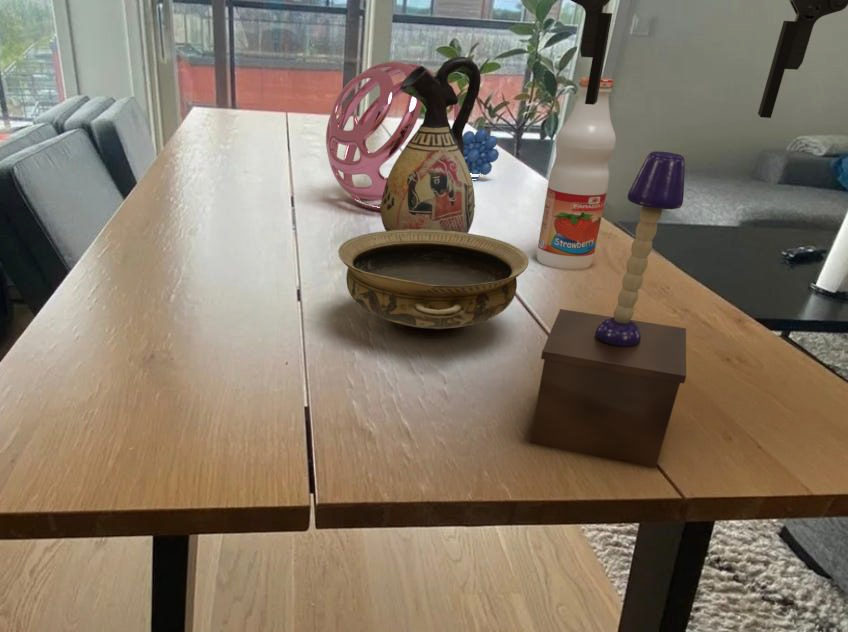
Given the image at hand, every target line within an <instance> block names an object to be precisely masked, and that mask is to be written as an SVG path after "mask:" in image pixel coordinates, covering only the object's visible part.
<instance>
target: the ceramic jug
mask: <svg viewBox="0 0 848 632" xmlns="http://www.w3.org/2000/svg"><path fill="white" fill-rule="evenodd" d="M424 67H425V66H423V65H420V66H419V67H418V68H416V69H415V70H413V71H412V72H411V73H410V74H409V75H408V76H407V78H406V77H405V78H404V80H402V81H403V82H402V81H401V82H402V84H401V87H400V90H401V91H402V92H404V93H403V94H406V95H408V96H409V95H411V96H412V97H414V98H416V99H417V100H419V101H421V102H422V105H423V107H425V111H424V112H425V113H424V117H423V121H422V123H421V124H420V125H419V128H417V130H416V131H415V133H414V134H413V135H412V137H411V138H410V140H409V141H408V142H407V143H406V145H405V147H404V148H403V150H401V152H400V153H399V155H398V157H397V158H396V160H395V162H394V163H393V166H392V167H391V169H390V171H389V174H388V177H387V178H388V179H387V182H386V185H385V188H384V192H383V196H382V200H380V204H381V207H380V211H379V212H380V218H381V223H382V225H383V228H384V231H386V232H387V231H392V230H406V229H429V230H443V231H456V232H463V233H470V232H469V231H470V230H471V227H472V225H473V222H474V218H475V217H474V216H475V208H476V200H475V198H476V197H475V189H474V188H475V187H474V181H472V178H471V175H470V172H469V170H468V167H467V164H466V162H465V159H464V152H463V135H464V130H465V127H466V125H467V123H468V122H469V119H470V116H471V113H472V110H473V108H474V106H475V103H476V100H477V98H478V96H479V94H480V88H481V78H482V77H481V72H480V69H479V66H478V65H477V63H475V62H474V60H472V59H471V58H469V57H467V56H456V57H452V58H450V59H448V60H445V61H444V62H443V63H442V65H441V66H440V67H439V69H438V71H437V72H436V74H435V75H436V76H435V77H433V76H432V75H431V74H430V73H429V72H428V71H427V70H426V69H425V68H426V67H425V68H424ZM454 73H459V74H463V75H465V76H466V77H467V78H468V82H469V83H468V87H467V90H466V94H465V96H464V99H463V101H462V104H461V106H460V111H459V113H458V115H457V118H456V119H455V121H454V120H453V123H452V125H450V122H449V118H448V114H447V108H448V107H450V106H453V105H455V104H457V103H458V102H459V98H458V96H457V94H456V92H455V90H454V87H453V86H452V84H450V83H449V81H448V77H449V76H450V75H451V74H454Z"/></svg>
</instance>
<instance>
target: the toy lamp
mask: <svg viewBox="0 0 848 632" xmlns="http://www.w3.org/2000/svg"><path fill="white" fill-rule="evenodd" d="M685 167H686V161H685V157H684V156H683V155H682V154H680V153H674V152H669V151H659V150H658V151H655V150H654V151H651V152H649V154H648V155H647V156H646V158H645V160H644V162H643V163H642V166H641V167H640V169H639V171H638V173H637V174H636V177H635V179H634V181H633V183H632V185H631V187H630V189H629V191H628V193H627V200H628V201H629V202H631V203H632V204H635V205H638V206H641V209H640V211H639V219H640V221H639V222H638V223H637V225H636V228H635V238H634V239H633V241H632V243H631V247H630V253H631V255H629V257H628V259H627V262H626V272H625V273H624V275H623V277H622V280H621V285H622V288H621V289H620V291H619V292H618V296H617V305H616V306H615V308H614V312H613V317H614V318H609V319H607V320H605V321H603V322H602V323H601V324H600V325H599V326H598V328H597V330H596V333H595V336H596V337H597V338H598V339H599V340H601V341H603V342H606V343H608V344H612V345H617V346H635V345H637V344H639V343H640V340H641V334H640V330H639V328H638V326H637V325H636V324H635V323H634V322H632V321H631V320H633V317H634V313H635V312H634V311H635V309H634V306H635V305H636V304H637V302H638V299H639V290H640V289H641V287H642V285H643V281H644V273H645V272H646V270H647V269H648V263H649V259H648V257H649V255H650V254H651V253H652V249H653V239H654V238H655V237H656V235H657V231H658V222H659V220H660V219H661V217H662V213H663V210H675V209H680V208H681V207H682V205H683V203H684V198H685V197H684V195H685V169H686V168H685Z"/></svg>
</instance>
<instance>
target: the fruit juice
mask: <svg viewBox="0 0 848 632" xmlns="http://www.w3.org/2000/svg"><path fill="white" fill-rule="evenodd" d="M588 82H589V76H583V77H581V78H580V80H579V88H578V90H579V91H580V92H579V96H578V97H577V98H578V99H577V100H576V102H575V104H574V107H573V109H572V111H571V113H570V115H569V116H568V118H567V120H566V121H565V122H564V124H563V125H562V126H561V127H560V129H559V130H558V132H557V136H556V138H555V139H556V140H555V153H556V157H555V162H554V164H553V165H552V167H551V170H550V173H549V178H548V182H547V189H546V195H545V201H544V207H543V212H542V219H541V225H540V231H539V239H538V243H537V250H536V261H538V262H539V263H540V264H541V265H544V266H546V267H549V268H555V269H559V270H570V271H571V270H575V271H576V270H584V269H588V268H589V267H591V265H592V263H593V260H594V256H595V251H596V248H597V247H596V246H597V241H598V236H599V232H600V226H601V221H602V216H603V212H604V211H603V210H604V207H605V202H606V197H607V193H608V188H609V180H610V171H609V170H610V169H609V163H610V160H611V158H612V156H613V153H614V151H615V149H616V143H617V136H616V133H615V129H614V127H613V124H612V119H611V118H612V117H611V111H610V99H609V97H610V93H611V92H612V89H613V87H614V79H611V78H605V77H601V81H600V87H599V93H598V98H597V102H596V103H595V104H594V105H591V104H585V100H586V94H587V88H588Z"/></svg>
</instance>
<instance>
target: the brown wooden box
mask: <svg viewBox="0 0 848 632" xmlns="http://www.w3.org/2000/svg"><path fill="white" fill-rule="evenodd" d="M609 318H614V316H608V315H603V314H602V315H601V314H596V313H589V312H582V311H576V310H571V309H570V310H569V309H563V308H560V309H559V311H558V313H557V316H556V318H555V321H554V323H553V325H552V327H551V330H550V332H549V335H548V337H547V339H546V341H545V344H544V346H543V348H542V351H541V357H540V359H541V360H543V366H542V371H541V376H540V382H539V388H538V394H537V399H536V403H535V409H534V415H533V421H532V425H531V426H532V427H531V432H530V437H529V444H531V445H536V446H537V445H538V446H542V447H547V448H552V449H557V450H561V451H567V452H571V453H576V454H583V455H588V456H592V457H597V458H600V459H601V458H602V459H607V460H612V461H617V462H621V463H627V464H631V465H636V466H641V467H647V468H650V469H656V468H657V466H658V465H657V464H658V462H659V458H660V455H661V451H662V447H663V444H664V441H665V437H666V435H667V431H668V427H669V423H670V419H671V416H672V413H673V409H674V406H675V402H676V398H677V395H678V392H679V388H680V386H681V385H680V384H685V382H686V378H687V328H686V327H680V326H679V327H678V326H673V325H666V324H659V323H653V322H647V321H640V320H634V319H631V321H632V322H634V323H635V324H636V325H637V326H638V328H639V330H640V334H641V340H640V343H639V344H637V345H635V346H617V345H612V344H608V343H606V342H603V341H601V340H599V339H598V338H597V337H596V336H595V333H596V330H597V328H598V326H599V325H600V324H601V323H602V322H603V321H605V320H607V319H609Z"/></svg>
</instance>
